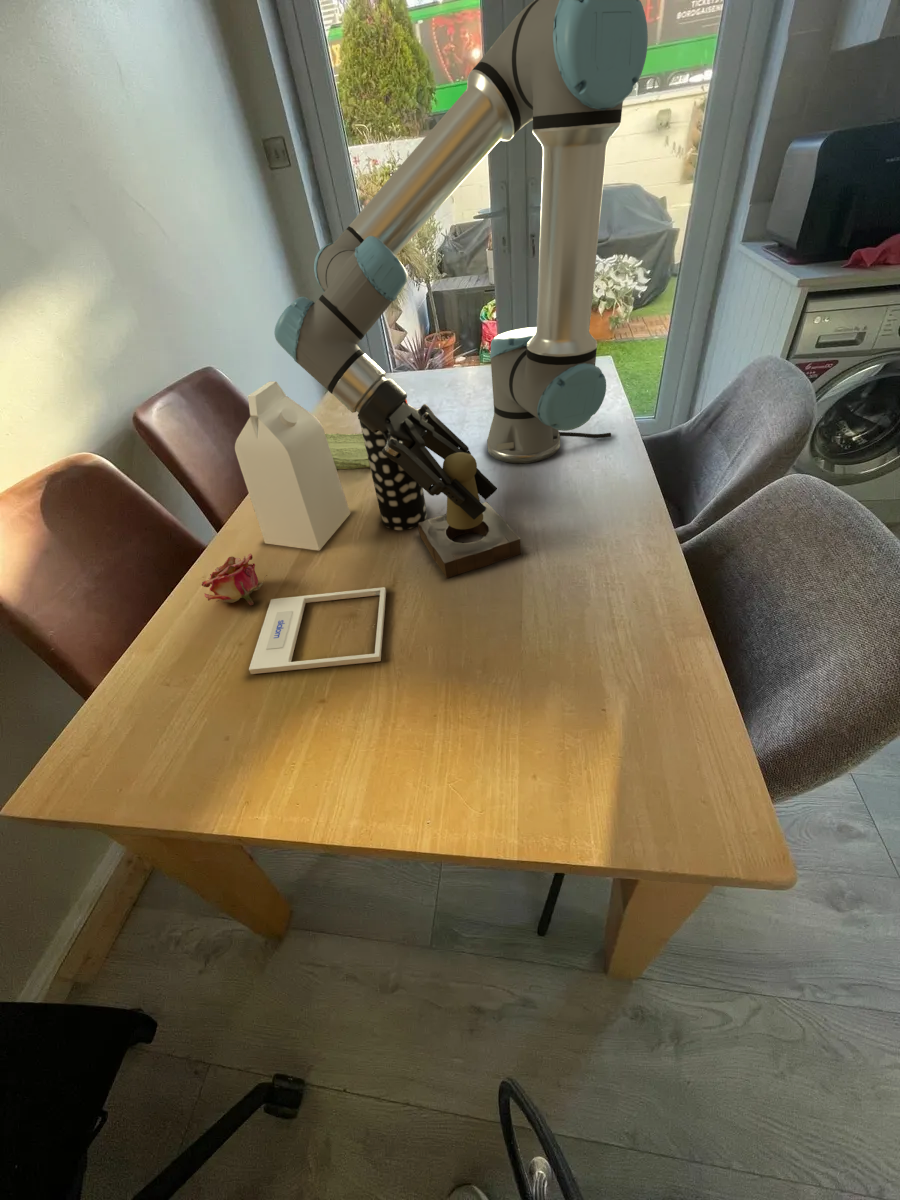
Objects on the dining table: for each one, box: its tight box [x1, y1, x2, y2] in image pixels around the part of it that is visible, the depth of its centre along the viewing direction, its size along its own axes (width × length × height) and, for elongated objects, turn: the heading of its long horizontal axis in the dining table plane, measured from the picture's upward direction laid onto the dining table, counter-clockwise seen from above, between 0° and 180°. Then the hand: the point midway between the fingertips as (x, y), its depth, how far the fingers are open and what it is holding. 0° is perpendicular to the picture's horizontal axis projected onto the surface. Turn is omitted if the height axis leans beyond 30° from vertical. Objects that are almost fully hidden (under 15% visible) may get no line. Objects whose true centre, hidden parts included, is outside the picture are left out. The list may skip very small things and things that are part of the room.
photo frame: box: [248, 586, 387, 675], centre depth 80 cm, size 15×1×18 cm
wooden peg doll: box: [442, 452, 484, 529], centre depth 86 cm, size 6×6×11 cm
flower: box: [201, 553, 268, 607], centre depth 86 cm, size 10×9×8 cm
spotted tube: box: [359, 420, 428, 531], centre depth 95 cm, size 8×8×20 cm
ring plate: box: [417, 501, 522, 579], centre depth 92 cm, size 13×13×3 cm
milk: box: [234, 380, 351, 552], centre depth 94 cm, size 12×12×26 cm
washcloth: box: [325, 432, 370, 470], centre depth 122 cm, size 13×18×3 cm
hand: (485, 503), depth 86 cm, fingers closed on wooden peg doll, 5 cm apart
